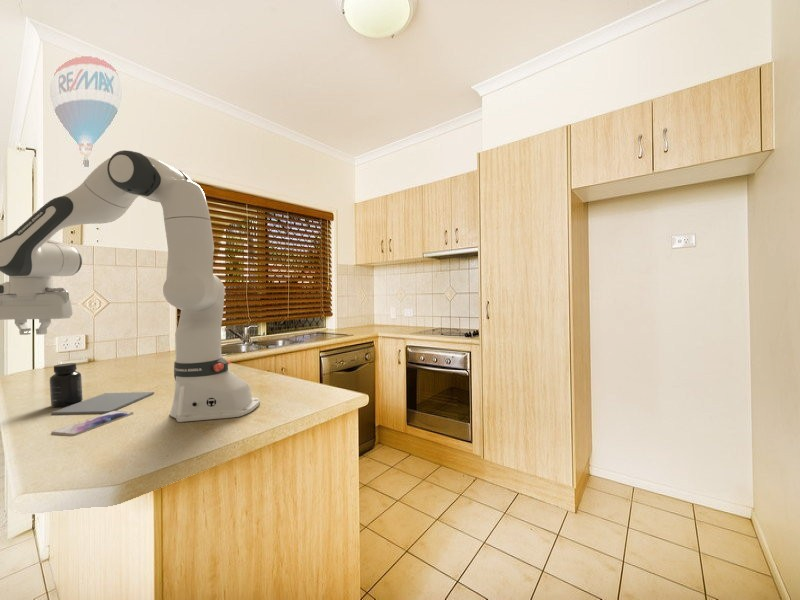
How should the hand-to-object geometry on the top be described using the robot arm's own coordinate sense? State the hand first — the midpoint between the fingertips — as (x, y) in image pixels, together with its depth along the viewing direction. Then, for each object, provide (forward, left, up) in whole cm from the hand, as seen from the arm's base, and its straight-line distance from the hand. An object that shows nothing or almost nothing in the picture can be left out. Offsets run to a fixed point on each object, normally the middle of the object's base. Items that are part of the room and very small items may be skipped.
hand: (33, 334), depth 101 cm
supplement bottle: (-9, 0, -21) cm, 23 cm away
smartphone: (-31, +16, -22) cm, 41 cm away
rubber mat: (-21, 0, -21) cm, 30 cm away
